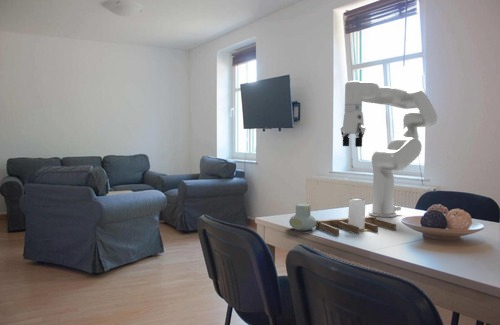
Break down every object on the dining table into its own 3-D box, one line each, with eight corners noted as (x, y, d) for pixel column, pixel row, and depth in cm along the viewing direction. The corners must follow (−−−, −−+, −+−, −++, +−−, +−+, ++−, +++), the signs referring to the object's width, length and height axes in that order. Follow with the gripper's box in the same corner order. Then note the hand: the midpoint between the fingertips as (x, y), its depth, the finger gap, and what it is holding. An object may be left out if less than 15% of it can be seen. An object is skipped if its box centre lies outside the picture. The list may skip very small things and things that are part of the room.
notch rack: (373, 223, 177) (373, 216, 177) (397, 230, 163) (397, 223, 163) (315, 227, 167) (315, 220, 167) (335, 235, 153) (335, 228, 153)
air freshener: (319, 230, 162) (320, 205, 162) (306, 233, 157) (306, 207, 156) (299, 225, 170) (299, 202, 170) (285, 228, 165) (286, 204, 164)
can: (364, 227, 167) (365, 198, 166) (364, 230, 161) (365, 200, 160) (348, 226, 169) (349, 197, 168) (347, 229, 163) (348, 199, 162)
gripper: (372, 107, 177) (370, 146, 179) (348, 110, 194) (347, 146, 195) (357, 107, 175) (356, 146, 176) (335, 109, 191) (334, 146, 192)
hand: (352, 146), depth 185 cm, fingers open, 9 cm apart
